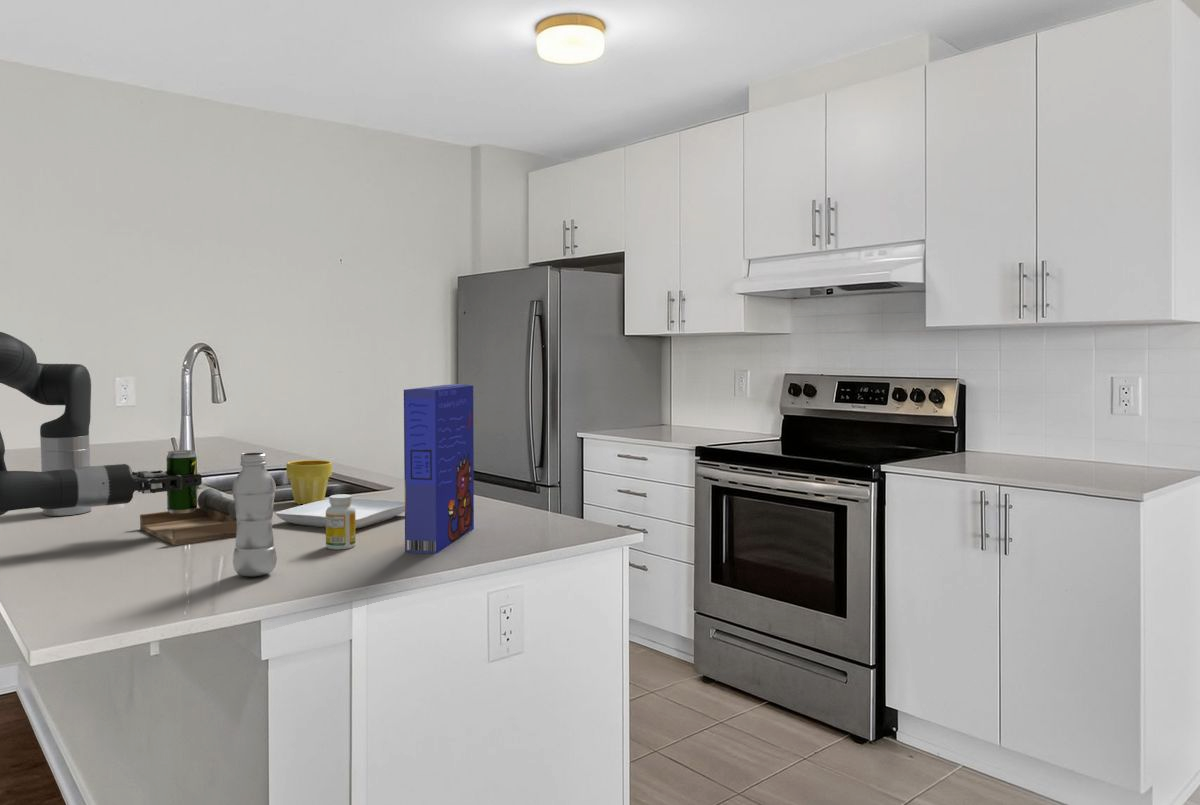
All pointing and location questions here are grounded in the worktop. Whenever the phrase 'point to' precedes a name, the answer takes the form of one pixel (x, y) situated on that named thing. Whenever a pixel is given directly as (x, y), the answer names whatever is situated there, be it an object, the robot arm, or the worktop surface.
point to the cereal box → (438, 466)
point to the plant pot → (309, 479)
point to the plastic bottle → (254, 517)
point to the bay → (195, 521)
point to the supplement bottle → (340, 523)
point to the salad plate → (364, 508)
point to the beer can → (187, 496)
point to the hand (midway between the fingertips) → (195, 477)
